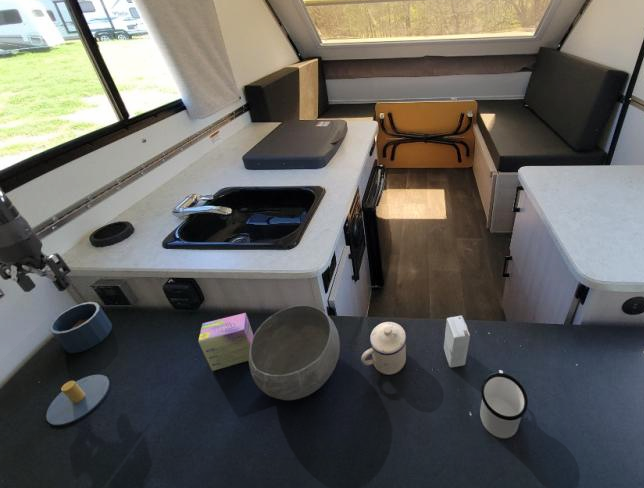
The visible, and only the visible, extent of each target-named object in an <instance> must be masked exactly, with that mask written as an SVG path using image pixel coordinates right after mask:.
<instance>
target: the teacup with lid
mask: <svg viewBox="0 0 644 488" xmlns="http://www.w3.org/2000/svg"><path fill="white" fill-rule="evenodd" d="M369 344H370V347H371V348H369V349H367V350H365V351H363V353H362V355H361V359H360V360H361V362H362V364H363V365H364V366H372V365H373V366H374V368H375V369H376V371H378V372H379V373H381V374H384V375H394V374H397V373H398V372H400V371H401V370H402V369H403V368H404V367H405V364H406V361H407V350H406V349H407V348H406V346H407V345H406V344H407V333H406V332H405V330H404V328H403V327H402V326H401V325H400V324H399V323H396V322H393V321H385V322H381V323H379V324H377V325H376V326H375V327H374V328H373V329H372V331H371V333H370V336H369ZM370 355H371V356H372V358H371V359H367V358H368V357H369V356H370ZM366 359H367V360H366Z"/></svg>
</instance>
